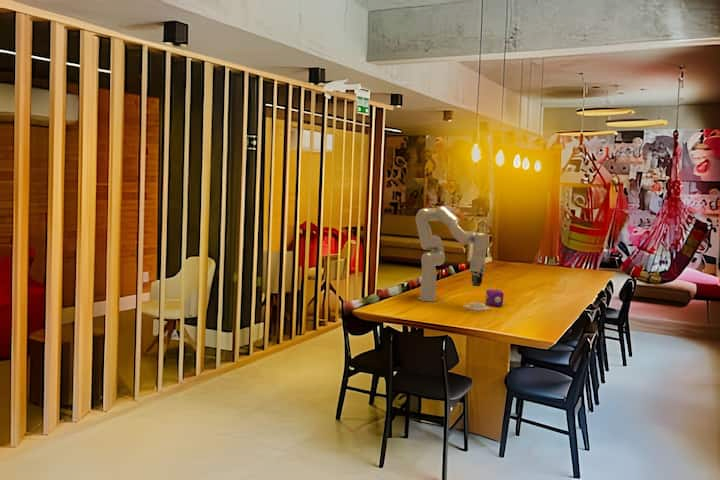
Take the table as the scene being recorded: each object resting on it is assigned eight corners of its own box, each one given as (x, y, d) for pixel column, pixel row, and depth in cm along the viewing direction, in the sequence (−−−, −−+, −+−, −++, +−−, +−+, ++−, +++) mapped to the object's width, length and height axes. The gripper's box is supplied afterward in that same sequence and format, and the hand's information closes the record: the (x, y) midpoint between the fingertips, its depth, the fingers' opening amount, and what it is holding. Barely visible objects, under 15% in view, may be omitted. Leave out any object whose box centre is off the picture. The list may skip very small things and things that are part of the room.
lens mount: (463, 307, 393) (463, 302, 393) (479, 306, 398) (479, 301, 398) (474, 311, 382) (475, 306, 382) (490, 310, 387) (491, 305, 387)
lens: (470, 284, 385) (471, 272, 385) (477, 284, 387) (478, 271, 387) (475, 286, 381) (476, 273, 380) (482, 286, 383) (483, 273, 382)
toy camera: (492, 307, 396) (493, 291, 396) (482, 303, 410) (483, 288, 409) (507, 307, 399) (508, 292, 398) (497, 303, 412) (498, 288, 412)
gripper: (466, 251, 388) (463, 280, 390) (481, 255, 373) (479, 285, 375) (476, 251, 391) (473, 280, 393) (492, 255, 376) (489, 285, 378)
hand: (476, 282), depth 384 cm, fingers closed on lens, 5 cm apart
